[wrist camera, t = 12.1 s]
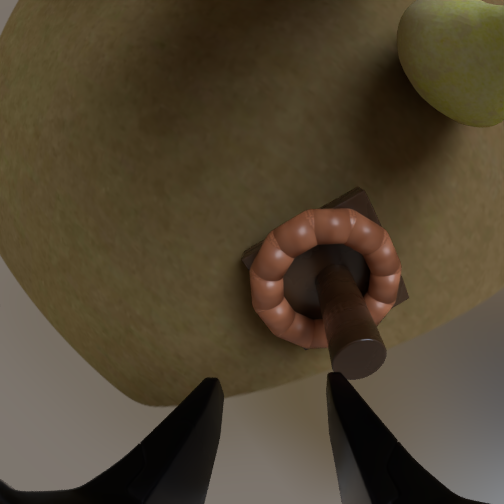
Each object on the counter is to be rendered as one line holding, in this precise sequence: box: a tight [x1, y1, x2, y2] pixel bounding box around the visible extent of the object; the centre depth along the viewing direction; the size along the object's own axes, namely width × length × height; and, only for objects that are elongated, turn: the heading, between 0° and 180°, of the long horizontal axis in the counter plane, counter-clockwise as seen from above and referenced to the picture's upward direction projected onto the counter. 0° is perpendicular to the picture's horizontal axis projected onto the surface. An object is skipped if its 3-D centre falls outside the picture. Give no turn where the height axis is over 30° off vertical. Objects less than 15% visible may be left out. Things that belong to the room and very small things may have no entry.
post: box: [242, 187, 409, 380], centre depth 12 cm, size 7×7×7 cm
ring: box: [250, 208, 401, 349], centre depth 13 cm, size 8×8×2 cm
